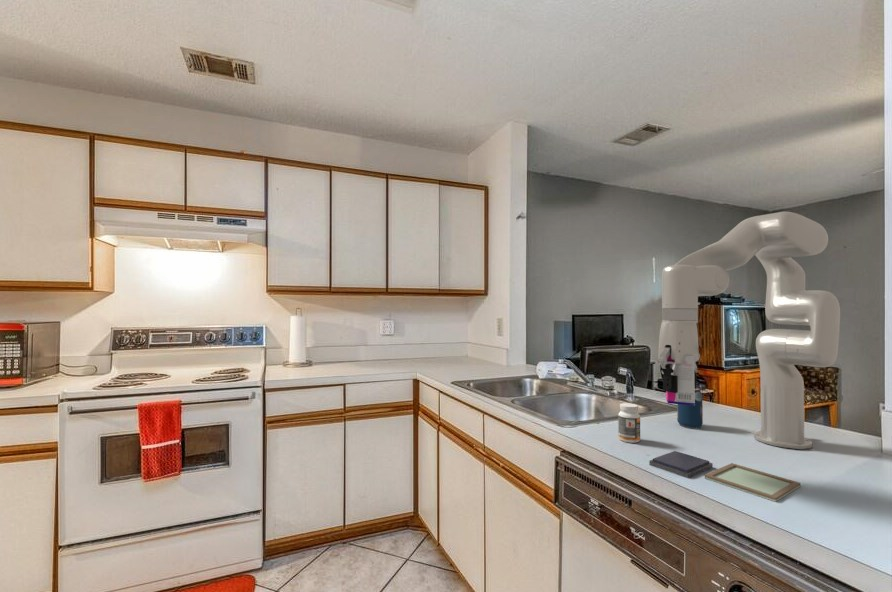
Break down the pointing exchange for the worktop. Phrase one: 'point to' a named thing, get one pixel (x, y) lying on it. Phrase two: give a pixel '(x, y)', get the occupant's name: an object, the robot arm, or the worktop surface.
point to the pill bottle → (629, 423)
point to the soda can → (691, 412)
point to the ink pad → (681, 464)
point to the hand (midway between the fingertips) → (679, 389)
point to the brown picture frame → (753, 481)
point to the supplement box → (684, 383)
